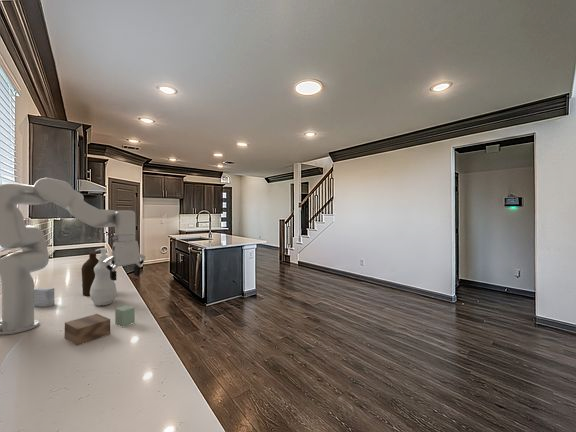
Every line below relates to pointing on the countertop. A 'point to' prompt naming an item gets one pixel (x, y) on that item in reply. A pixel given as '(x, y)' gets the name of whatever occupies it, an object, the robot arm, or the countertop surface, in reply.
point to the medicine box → (44, 297)
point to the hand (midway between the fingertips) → (125, 277)
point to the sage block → (124, 315)
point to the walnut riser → (87, 329)
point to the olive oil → (88, 273)
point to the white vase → (102, 282)
